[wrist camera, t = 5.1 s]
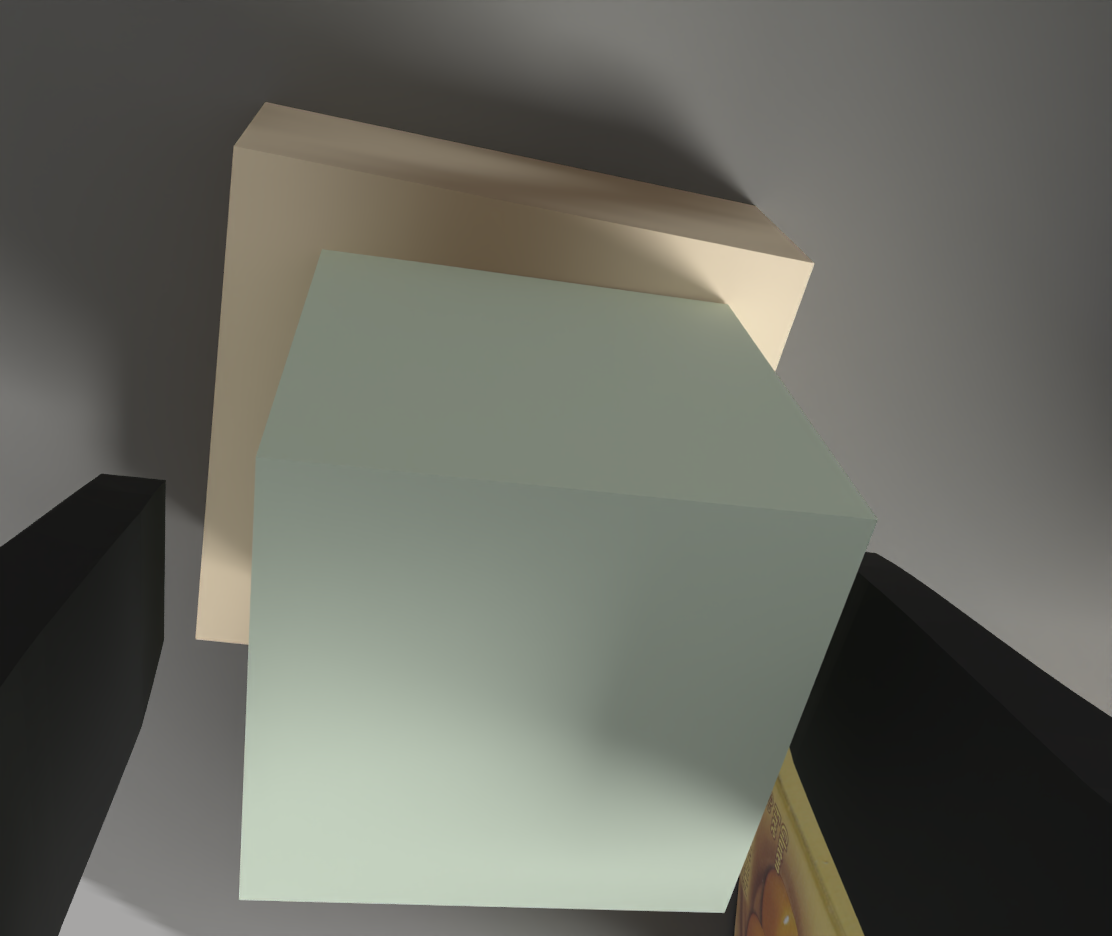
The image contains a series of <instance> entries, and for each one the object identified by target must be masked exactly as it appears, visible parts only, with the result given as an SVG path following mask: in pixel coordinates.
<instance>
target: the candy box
mask: <svg viewBox="0 0 1112 936" xmlns="http://www.w3.org/2000/svg"><path fill="white" fill-rule="evenodd" d="M734 936H864V933H863V931H862V929H861V926H860V924H859V921H858V919H857V917H856V914H855V912H854V909H853V907H852V905H851V902H850V900H849V897H848V895H847V893H846V890H845V888H844V885H843V883H842V881H841V878H840V876H839V873H838V871H837V869H836V866H835V864H834V861H833V859H832V857H831V854H830V852H829V849H828V847H827V845H826V842H825V840H824V838H823V835H822V833H821V830H820V828H819V826H818V823H817V821H816V818H815V816H814V813H813V811H812V808H811V806H810V803H809V801H808V798H807V796H806V793H805V791H804V788H803V786H802V783H801V781H800V778H799V776H798V773H797V771H796V768H795V765H794V763H793V759H792V755H791V752H790V748H789V749H788V751H787V754H786V756H785V759H784V762H783V764H782V767H781V769H780V772H779V774H778V777H777V780H776V782H775V785H774V787H773V790H772V792H771V795H770V797H769V800H768V803H767V805H766V808H765V810H764V813H763V815H762V818H761V821H760V823H759V826H758V828H757V831H756V833H755V836H754V839H753V841H752V844H751V846H750V849H749V851H748V854H747V857H746V859H745V862H744V864H743V867H742V869H741V872H740V876H739V888H738V900H737V911H736V921H735V933H734Z"/></svg>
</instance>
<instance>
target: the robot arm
mask: <svg viewBox="0 0 1112 936" xmlns="http://www.w3.org/2000/svg"><path fill="white" fill-rule="evenodd" d="M165 482H166V480H157V479H148V478H138V477H128V476H118V475H108V474H100V475H99V476H98V477H96V478H95V479H93V480H92V481H90V482H89V483H88V484H86V485H85V486H83V487H82V488H81V489H79V490H78V491H76V492H75V493H74V494H72V495H71V496H69V497H68V498H67V499H65V500H64V501H63V502H61V503H60V504H59V505H57V506H56V507H54V508H53V509H52V510H50V511H49V512H48V513H46V514H45V515H44V516H42V517H41V518H40V519H38V520H37V521H36V522H34V523H33V524H31V525H30V526H29V527H27V528H26V529H25V530H23V531H22V532H20V533H19V534H18V535H16V536H15V537H14V538H12V539H11V540H10V541H8V542H7V543H5V544H4V545H2V546H1V547H0V936H58V935H59V932H60V929H61V926H62V924H63V921H64V919H65V916H66V914H67V911H68V909H69V906H70V904H71V902H72V899H73V897H74V894H75V892H76V889H77V887H78V884H79V882H80V879H81V877H82V874H83V872H84V869H85V867H86V864H87V862H88V859H89V857H90V855H91V852H92V850H93V847H94V845H95V842H96V840H97V837H98V835H99V832H100V830H101V827H102V825H103V822H104V820H105V817H106V815H107V812H108V810H109V807H110V805H111V803H112V800H113V798H114V795H115V793H116V790H117V788H118V785H119V783H120V780H121V777H122V775H123V772H124V770H125V767H126V765H127V762H128V760H129V757H130V755H131V752H132V750H133V747H134V745H135V742H136V740H137V737H138V734H139V732H140V729H141V727H142V723H143V719H144V716H145V712H146V708H147V704H148V701H149V697H150V693H151V689H152V686H153V682H154V678H155V674H156V670H157V666H158V662H159V658H160V654H161V650H162V646H163V642H164V577H165ZM789 748H790V752H791V755H792V759H793V763H794V765H795V768H796V771H797V773H798V776H799V778H800V781H801V783H802V786H803V788H804V791H805V793H806V796H807V798H808V801H809V803H810V806H811V808H812V811H813V813H814V816H815V818H816V821H817V823H818V826H819V828H820V830H821V833H822V835H823V838H824V840H825V842H826V845H827V847H828V849H829V852H830V854H831V857H832V859H833V861H834V864H835V866H836V869H837V871H838V873H839V876H840V878H841V881H842V883H843V885H844V888H845V890H846V893H847V895H848V897H849V900H850V902H851V905H852V907H853V909H854V912H855V914H856V917H857V919H858V921H859V924H860V926H861V929H862V931H863V933H864V936H1112V717H1110V716H1109V715H1107V714H1106V713H1104V712H1103V711H1101V710H1100V709H1098V708H1097V707H1095V706H1094V705H1092V704H1091V703H1089V702H1088V701H1086V700H1085V699H1083V698H1082V697H1080V696H1079V695H1077V694H1076V693H1074V692H1073V691H1071V690H1070V689H1069V688H1067V687H1066V686H1064V685H1063V684H1061V683H1060V682H1059V681H1057V680H1056V679H1054V678H1053V677H1051V676H1050V675H1049V674H1047V673H1046V672H1044V671H1043V670H1042V669H1040V668H1039V667H1037V666H1036V665H1035V664H1033V663H1032V662H1030V661H1029V660H1028V659H1026V658H1025V657H1023V656H1022V655H1021V654H1019V653H1018V652H1017V651H1015V650H1014V649H1012V648H1011V647H1010V646H1008V645H1007V644H1006V643H1004V642H1003V641H1001V640H1000V639H999V638H997V637H996V636H995V635H993V634H992V633H991V632H989V631H988V630H986V629H985V628H984V627H982V626H981V625H980V624H978V623H977V622H976V621H974V620H973V619H971V618H970V617H969V616H967V615H966V614H965V613H963V612H962V611H961V610H959V609H958V608H957V607H955V606H954V605H952V604H951V603H950V602H948V601H947V600H946V599H944V598H943V597H942V596H940V595H939V594H937V593H936V592H935V591H933V590H932V589H930V588H929V587H928V586H926V585H925V584H923V583H922V582H920V581H919V580H918V579H916V578H915V577H913V576H912V575H910V574H909V573H907V572H906V571H904V570H903V569H901V568H900V567H898V566H897V565H895V564H894V563H892V562H890V561H889V560H887V559H885V558H883V557H882V556H880V555H878V554H876V553H870V552H865V554H864V556H863V559H862V561H861V564H860V567H859V569H858V572H857V574H856V577H855V579H854V582H853V585H852V587H851V590H850V592H849V595H848V597H847V600H846V602H845V605H844V608H843V610H842V613H841V615H840V618H839V620H838V623H837V626H836V628H835V631H834V633H833V636H832V638H831V641H830V644H829V646H828V649H827V651H826V654H825V656H824V659H823V662H822V664H821V667H820V669H819V672H818V674H817V677H816V679H815V682H814V685H813V687H812V690H811V692H810V695H809V697H808V700H807V703H806V705H805V708H804V710H803V713H802V715H801V718H800V721H799V723H798V726H797V728H796V731H795V733H794V736H793V738H792V741H791V744H790V746H789Z"/></svg>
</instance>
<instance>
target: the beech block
mask: <svg viewBox="0 0 1112 936" xmlns="http://www.w3.org/2000/svg"><path fill="white" fill-rule="evenodd" d="M322 249H325V250H333V251H340V252H348V253H355V254H363V255H370V256H378V257H385V258H393V259H400V260H408V261H415V262H423V263H430V264H438V265H445V266H452V267H459V268H467V269H474V270H481V271H489V272H496V273H503V274H510V275H518V276H525V277H532V278H539V279H547V280H554V281H561V282H569V283H576V284H583V285H590V286H598V287H605V288H612V289H620V290H627V291H634V292H641V293H649V294H656V295H663V296H671V297H678V298H685V299H692V300H700V301H707V302H714V303H722V304H728V305H729V307H730V308H731V309H732V311H733V312H734V314H735V315H736V317H737V318H738V319H739V321H740V322H741V324H742V325H743V327H744V328H745V330H746V331H747V332H748V334H749V335H750V337H751V338H752V340H753V341H754V342H755V344H756V345H757V347H758V348H759V350H760V351H761V353H762V354H763V355H764V357H765V358H766V360H767V361H768V363H769V364H770V365H771V367H772V368H773V370H774V371H775V370H776V368H777V365H778V362H779V359H780V357H781V354H782V351H783V348H784V346H785V343H786V340H787V338H788V335H789V332H790V329H791V327H792V324H793V321H794V318H795V316H796V313H797V310H798V307H799V305H800V302H801V299H802V296H803V294H804V291H805V288H806V285H807V283H808V280H809V277H810V274H811V272H812V269H813V266H814V264H815V263H814V262H812V261H811V260H810V259H809V258H808V257H807V256H806V255H805V254H804V253H803V252H802V251H801V250H800V249H799V248H798V247H797V246H796V245H795V244H794V243H793V242H792V241H791V240H790V239H789V238H788V237H787V236H786V235H785V234H784V233H783V232H782V231H781V230H780V229H779V228H778V227H777V226H776V225H774V224H773V223H772V222H771V221H770V220H769V219H768V218H767V217H766V216H765V215H764V214H763V213H762V212H761V211H760V210H759V209H758V208H757V207H756V206H754V205H749V204H745V203H740V202H735V201H730V200H726V199H721V198H716V197H712V196H707V195H702V194H697V193H693V192H688V191H683V190H679V189H674V188H669V187H664V186H660V185H655V184H650V183H646V182H641V181H636V180H631V179H627V178H622V177H617V176H613V175H608V174H603V173H598V172H594V171H589V170H584V169H579V168H575V167H570V166H565V165H561V164H556V163H551V162H546V161H542V160H537V159H532V158H528V157H523V156H518V155H513V154H509V153H504V152H499V151H495V150H490V149H485V148H480V147H476V146H471V145H466V144H462V143H457V142H452V141H447V140H443V139H438V138H433V137H428V136H424V135H419V134H414V133H410V132H405V131H400V130H395V129H391V128H386V127H381V126H377V125H372V124H367V123H362V122H358V121H353V120H348V119H344V118H339V117H334V116H329V115H325V114H320V113H315V112H311V111H306V110H301V109H296V108H292V107H287V106H282V105H277V104H273V103H268V102H265V103H264V105H263V106H262V107H261V109H260V110H259V112H258V113H257V114H256V116H255V117H254V118H253V120H252V121H251V123H250V124H249V125H248V127H247V128H246V130H245V131H244V132H243V134H242V135H241V137H240V138H239V139H238V141H237V142H236V143H235V145H234V148H233V161H232V174H231V187H230V200H229V213H228V226H227V239H226V252H225V264H224V277H223V290H222V303H221V316H220V329H219V342H218V355H217V368H216V381H215V393H214V406H213V419H212V432H211V445H210V458H209V471H208V484H207V497H206V509H205V522H204V535H203V548H202V561H201V574H200V587H199V600H198V613H197V626H196V638H195V639H198V640H208V641H218V642H227V643H237V644H247V645H249V622H250V596H251V569H252V543H253V516H254V490H255V464H256V455H257V451H258V448H259V445H260V442H261V439H262V436H263V433H264V429H265V426H266V423H267V420H268V417H269V414H270V411H271V407H272V404H273V401H274V398H275V395H276V392H277V389H278V385H279V382H280V379H281V376H282V373H283V370H284V367H285V364H286V360H287V357H288V354H289V351H290V348H291V345H292V342H293V338H294V335H295V332H296V329H297V326H298V323H299V320H300V316H301V313H302V310H303V307H304V304H305V301H306V298H307V294H308V291H309V288H310V285H311V282H312V279H313V276H314V272H315V269H316V266H317V263H318V260H319V257H320V254H321V251H322Z"/></svg>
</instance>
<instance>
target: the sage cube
mask: <svg viewBox="0 0 1112 936" xmlns="http://www.w3.org/2000/svg"><path fill="white" fill-rule="evenodd" d="M877 520H878V519H877V518H876V516H875V515H874V514H873V512H872V511H871V509H870V508H869V506H868V505H867V503H866V502H865V501H864V499H863V498H862V496H861V495H860V493H859V492H858V491H857V489H856V488H855V486H854V485H853V483H852V482H851V480H850V479H849V478H848V476H847V475H846V473H845V472H844V470H843V469H842V468H841V466H840V465H839V463H838V462H837V460H836V459H835V457H834V456H833V455H832V453H831V452H830V450H829V449H828V447H827V446H826V445H825V443H824V442H823V440H822V439H821V437H820V436H819V434H818V433H817V432H816V430H815V429H814V427H813V426H812V424H811V423H810V422H809V420H808V419H807V417H806V416H805V414H804V413H803V411H802V410H801V409H800V407H799V406H798V404H797V403H796V401H795V400H794V399H793V397H792V396H791V394H790V393H789V391H788V390H787V388H786V387H785V386H784V384H783V383H782V381H781V380H780V378H779V377H778V376H777V374H776V373H775V371H774V370H773V368H772V367H771V365H770V364H769V363H768V361H767V360H766V358H765V357H764V355H763V354H762V353H761V351H760V350H759V348H758V347H757V345H756V344H755V342H754V341H753V340H752V338H751V337H750V335H749V334H748V332H747V331H746V330H745V328H744V327H743V325H742V324H741V322H740V321H739V319H738V318H737V317H736V315H735V314H734V312H733V311H732V309H731V308H730V307H729V305H728V304H722V303H714V302H707V301H700V300H692V299H685V298H678V297H671V296H663V295H656V294H649V293H641V292H634V291H627V290H620V289H612V288H605V287H598V286H590V285H583V284H576V283H569V282H561V281H554V280H547V279H539V278H532V277H525V276H518V275H510V274H503V273H496V272H489V271H481V270H474V269H467V268H459V267H452V266H445V265H438V264H430V263H423V262H415V261H408V260H400V259H393V258H385V257H378V256H370V255H363V254H355V253H348V252H340V251H333V250H325V249H322V251H321V254H320V257H319V260H318V263H317V266H316V269H315V272H314V276H313V279H312V282H311V285H310V288H309V291H308V294H307V298H306V301H305V304H304V307H303V310H302V313H301V316H300V320H299V323H298V326H297V329H296V332H295V335H294V338H293V342H292V345H291V348H290V351H289V354H288V357H287V360H286V364H285V367H284V370H283V373H282V376H281V379H280V382H279V385H278V389H277V392H276V395H275V398H274V401H273V404H272V407H271V411H270V414H269V417H268V420H267V423H266V426H265V429H264V433H263V436H262V439H261V442H260V445H259V448H258V451H257V455H256V464H255V490H254V516H253V543H252V569H251V596H250V622H249V648H248V675H247V701H246V728H245V754H244V780H243V807H242V833H241V860H240V886H239V900H261V901H299V902H336V903H373V904H411V905H448V906H485V907H523V908H560V909H597V910H635V911H672V912H709V913H725V910H726V908H727V905H728V903H729V900H730V898H731V895H732V892H733V890H734V887H735V885H736V882H737V880H738V877H739V874H740V872H741V869H742V867H743V864H744V862H745V859H746V857H747V854H748V851H749V849H750V846H751V844H752V841H753V839H754V836H755V833H756V831H757V828H758V826H759V823H760V821H761V818H762V815H763V813H764V810H765V808H766V805H767V803H768V800H769V797H770V795H771V792H772V790H773V787H774V785H775V782H776V780H777V777H778V774H779V772H780V769H781V767H782V764H783V762H784V759H785V756H786V754H787V751H788V749H789V746H790V744H791V741H792V738H793V736H794V733H795V731H796V728H797V726H798V723H799V721H800V718H801V715H802V713H803V710H804V708H805V705H806V703H807V700H808V697H809V695H810V692H811V690H812V687H813V685H814V682H815V679H816V677H817V674H818V672H819V669H820V667H821V664H822V662H823V659H824V656H825V654H826V651H827V649H828V646H829V644H830V641H831V638H832V636H833V633H834V631H835V628H836V626H837V623H838V620H839V618H840V615H841V613H842V610H843V608H844V605H845V602H846V600H847V597H848V595H849V592H850V590H851V587H852V585H853V582H854V579H855V577H856V574H857V572H858V569H859V567H860V564H861V561H862V559H863V556H864V554H865V551H866V549H867V546H868V543H869V541H870V538H871V536H872V533H873V531H874V528H875V526H876V523H877Z"/></svg>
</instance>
